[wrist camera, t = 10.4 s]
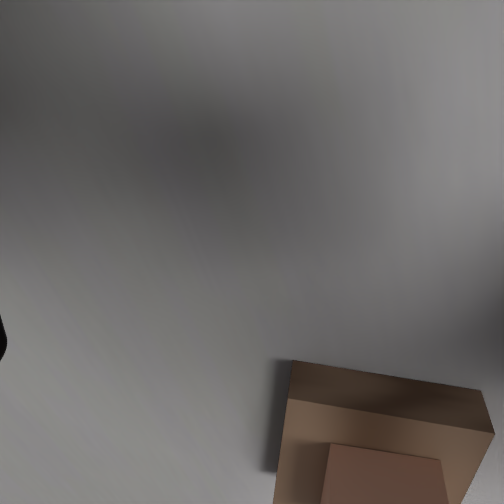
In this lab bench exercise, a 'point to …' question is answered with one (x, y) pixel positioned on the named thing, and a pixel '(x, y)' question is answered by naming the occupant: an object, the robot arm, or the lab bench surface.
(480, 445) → the walnut block
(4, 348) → the robot arm
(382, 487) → the terracotta cube
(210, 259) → the lab bench surface
